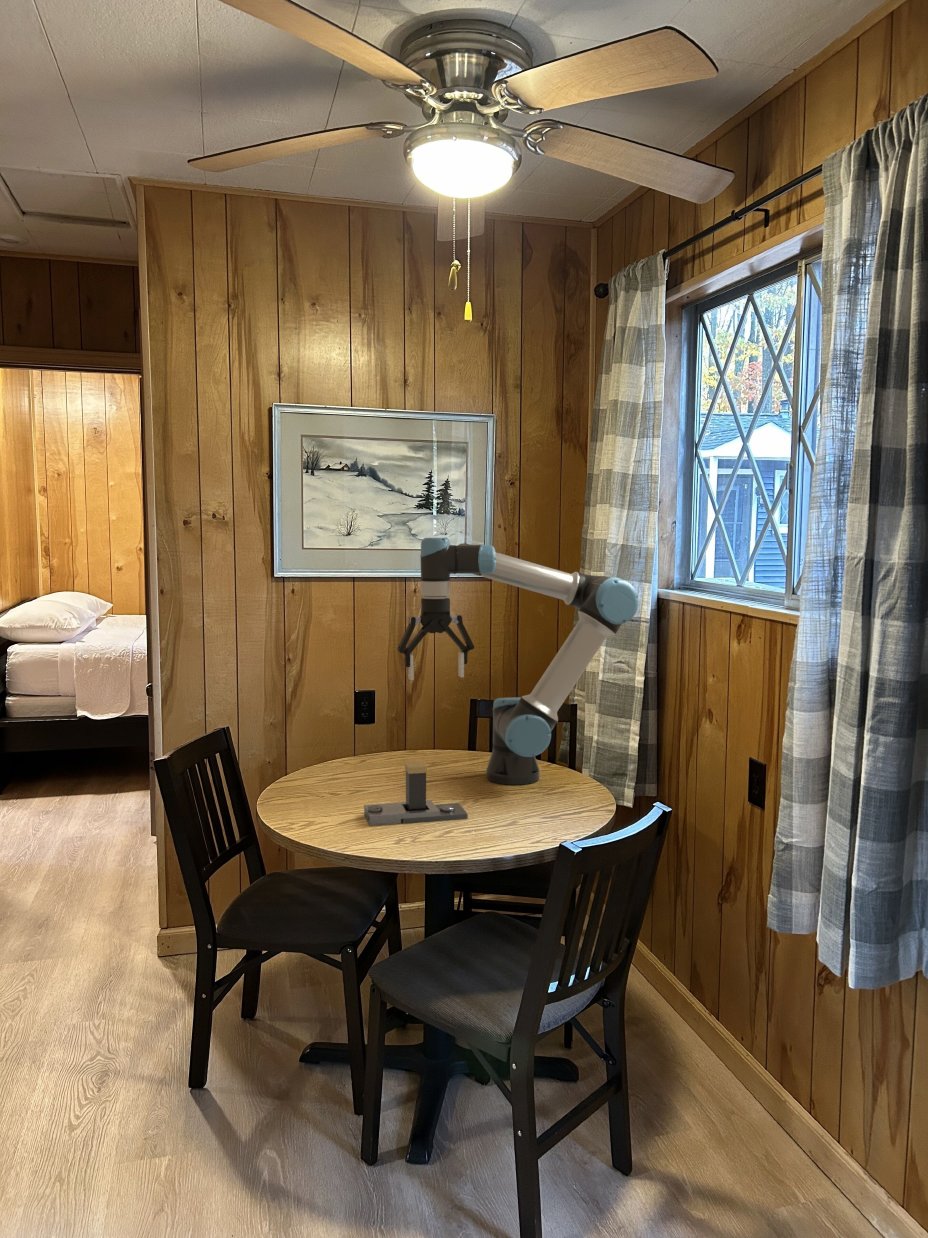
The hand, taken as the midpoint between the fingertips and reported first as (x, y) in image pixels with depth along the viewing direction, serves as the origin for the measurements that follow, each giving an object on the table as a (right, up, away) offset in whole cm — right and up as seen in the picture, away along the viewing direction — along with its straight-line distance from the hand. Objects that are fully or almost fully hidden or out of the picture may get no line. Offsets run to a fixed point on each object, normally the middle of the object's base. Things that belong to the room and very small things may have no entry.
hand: (436, 678), depth 239 cm
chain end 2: (-1, -33, -15) cm, 36 cm away
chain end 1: (-9, -33, -17) cm, 38 cm away
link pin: (-5, -33, -15) cm, 37 cm away
